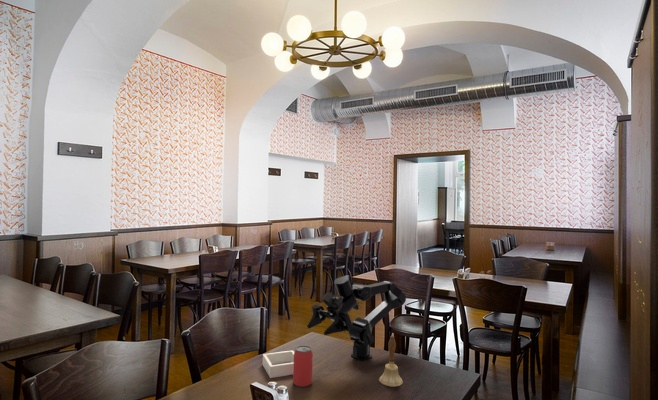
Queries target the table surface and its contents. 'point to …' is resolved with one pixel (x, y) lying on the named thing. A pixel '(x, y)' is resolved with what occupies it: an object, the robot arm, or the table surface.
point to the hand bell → (391, 368)
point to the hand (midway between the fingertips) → (315, 330)
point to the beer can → (302, 366)
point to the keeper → (280, 368)
